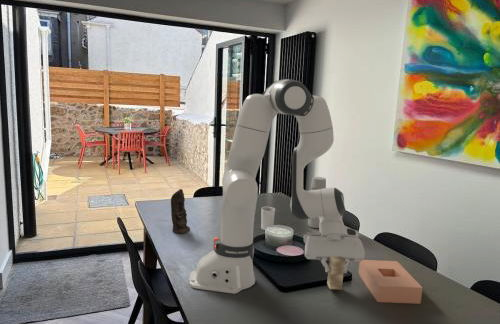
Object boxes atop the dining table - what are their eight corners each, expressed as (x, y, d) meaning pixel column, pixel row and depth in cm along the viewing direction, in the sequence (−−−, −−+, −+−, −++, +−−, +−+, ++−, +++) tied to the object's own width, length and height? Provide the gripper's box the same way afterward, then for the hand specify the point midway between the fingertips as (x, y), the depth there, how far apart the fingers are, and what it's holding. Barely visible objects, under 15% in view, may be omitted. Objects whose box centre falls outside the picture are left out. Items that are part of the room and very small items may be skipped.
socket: (377, 302, 121) (379, 286, 120) (358, 273, 141) (359, 259, 140) (420, 303, 121) (422, 287, 121) (395, 275, 141) (397, 261, 140)
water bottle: (322, 229, 188) (327, 180, 184) (306, 227, 189) (310, 178, 185) (322, 223, 197) (327, 176, 192) (307, 222, 198) (311, 175, 194)
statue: (183, 234, 171) (184, 191, 167) (169, 232, 173) (170, 189, 170) (190, 230, 177) (191, 188, 174) (177, 227, 179) (178, 186, 176)
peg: (329, 289, 125) (332, 260, 124) (327, 283, 129) (329, 255, 128) (341, 289, 125) (344, 261, 124) (338, 283, 129) (341, 256, 128)
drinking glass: (276, 228, 185) (277, 209, 184) (268, 231, 180) (269, 211, 179) (266, 225, 190) (267, 205, 188) (257, 228, 185) (258, 208, 183)
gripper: (304, 228, 131) (307, 267, 123) (363, 231, 132) (369, 270, 124) (301, 236, 136) (303, 273, 128) (357, 239, 137) (363, 276, 129)
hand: (336, 272), depth 126 cm, fingers closed on peg, 4 cm apart
